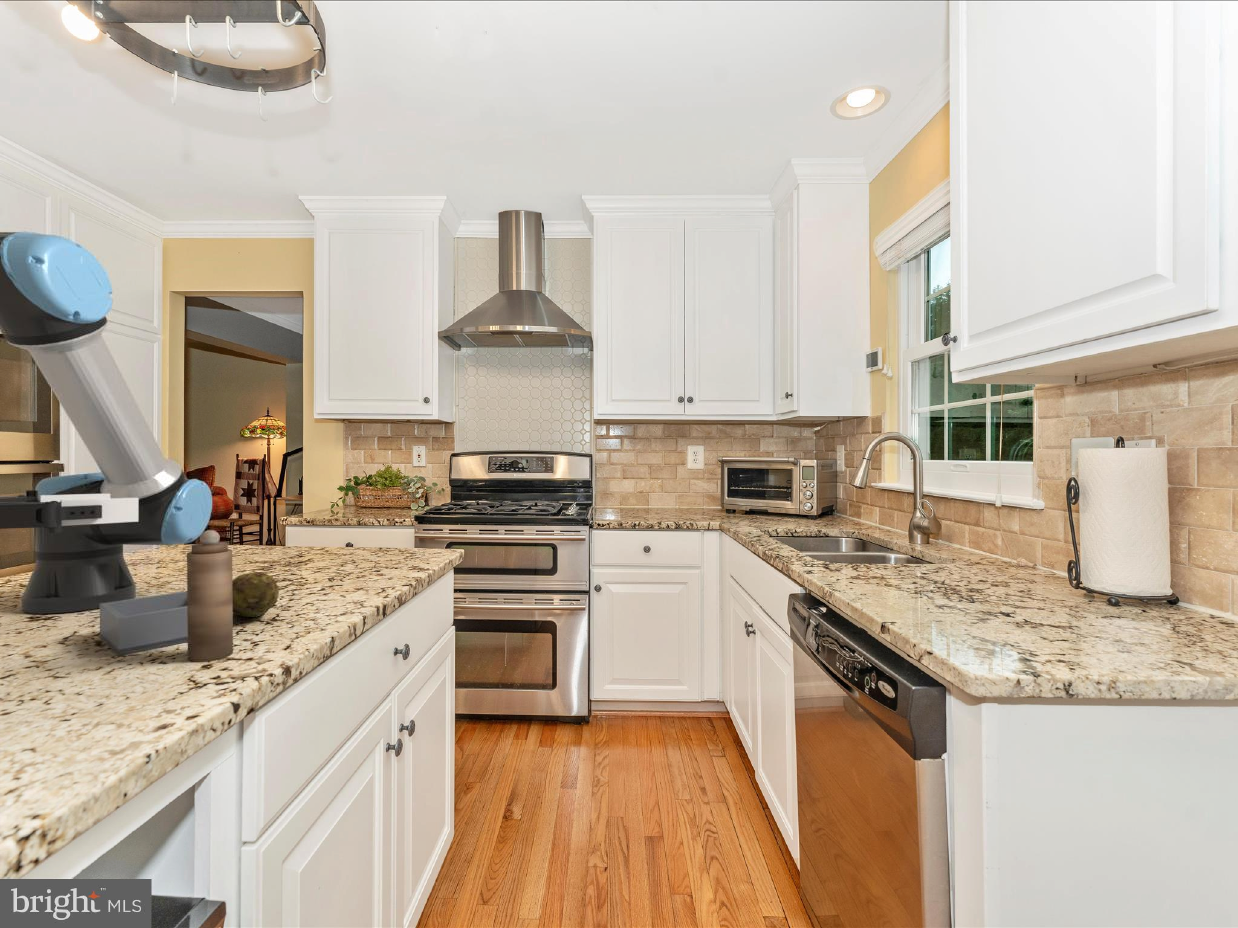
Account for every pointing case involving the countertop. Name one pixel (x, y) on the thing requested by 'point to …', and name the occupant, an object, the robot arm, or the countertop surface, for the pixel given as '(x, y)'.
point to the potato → (253, 594)
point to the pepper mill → (209, 599)
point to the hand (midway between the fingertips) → (123, 506)
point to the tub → (144, 623)
